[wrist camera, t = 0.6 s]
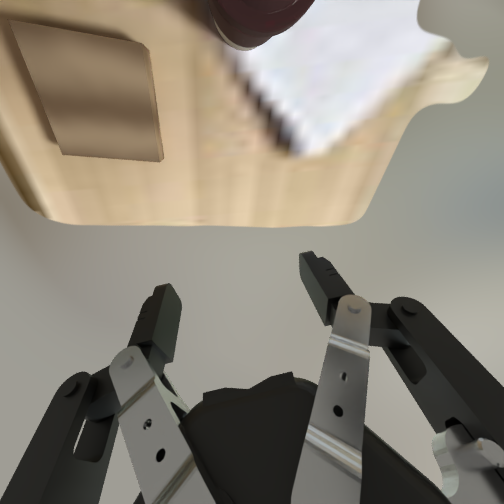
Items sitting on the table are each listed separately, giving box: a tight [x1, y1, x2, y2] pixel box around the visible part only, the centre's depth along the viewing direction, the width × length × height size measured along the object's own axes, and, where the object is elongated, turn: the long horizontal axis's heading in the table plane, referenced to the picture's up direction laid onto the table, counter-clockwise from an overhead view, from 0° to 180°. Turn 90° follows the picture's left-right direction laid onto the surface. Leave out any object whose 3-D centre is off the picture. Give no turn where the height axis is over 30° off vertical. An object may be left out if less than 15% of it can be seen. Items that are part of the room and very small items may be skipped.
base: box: [8, 19, 164, 162], centre depth 25 cm, size 12×12×3 cm
